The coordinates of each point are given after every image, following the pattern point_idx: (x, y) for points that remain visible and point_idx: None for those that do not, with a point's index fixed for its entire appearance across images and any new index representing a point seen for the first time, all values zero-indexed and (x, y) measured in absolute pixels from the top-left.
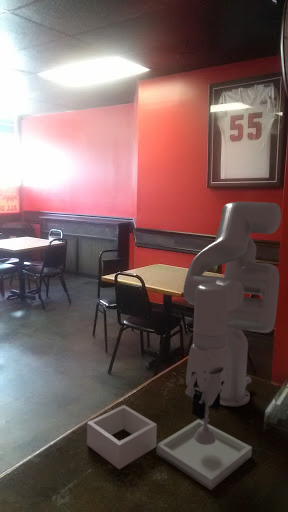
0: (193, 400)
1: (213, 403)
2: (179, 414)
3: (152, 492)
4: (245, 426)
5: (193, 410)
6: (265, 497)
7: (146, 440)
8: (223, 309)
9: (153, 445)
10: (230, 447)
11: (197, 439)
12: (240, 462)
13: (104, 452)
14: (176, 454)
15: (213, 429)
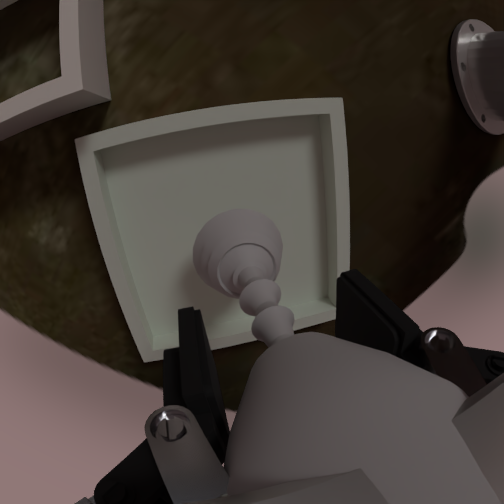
0: (182, 387)
1: (349, 333)
2: (325, 5)
3: (12, 275)
4: (428, 195)
5: (163, 359)
6: (242, 395)
7: (42, 114)
8: None
9: (94, 103)
10: (318, 257)
11: (198, 256)
12: None
13: None
14: (106, 229)
15: (336, 183)
